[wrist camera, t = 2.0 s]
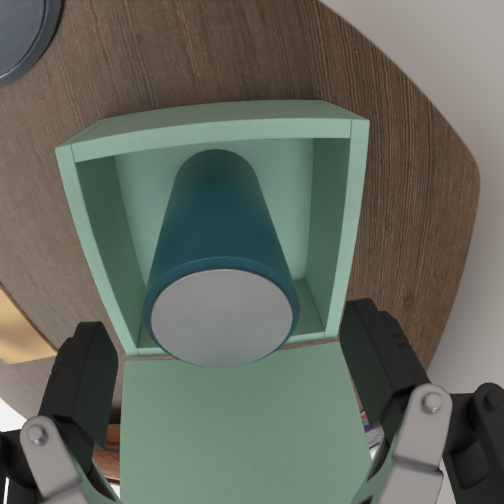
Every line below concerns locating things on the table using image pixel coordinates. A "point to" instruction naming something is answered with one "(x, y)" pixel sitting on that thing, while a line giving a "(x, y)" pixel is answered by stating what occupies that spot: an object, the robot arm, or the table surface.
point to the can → (219, 269)
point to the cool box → (269, 177)
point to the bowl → (110, 455)
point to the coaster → (20, 334)
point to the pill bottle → (372, 435)
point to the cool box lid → (242, 431)
